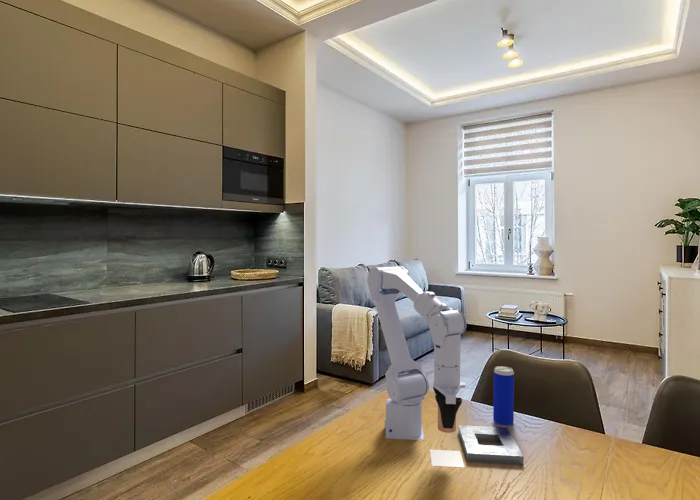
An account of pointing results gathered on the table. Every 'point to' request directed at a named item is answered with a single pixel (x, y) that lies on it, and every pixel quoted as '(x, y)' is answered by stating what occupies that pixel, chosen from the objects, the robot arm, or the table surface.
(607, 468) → the table surface
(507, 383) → the beverage can
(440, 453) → the tile
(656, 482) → the table surface
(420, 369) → the robot arm
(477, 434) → the hole plate
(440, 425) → the peg
